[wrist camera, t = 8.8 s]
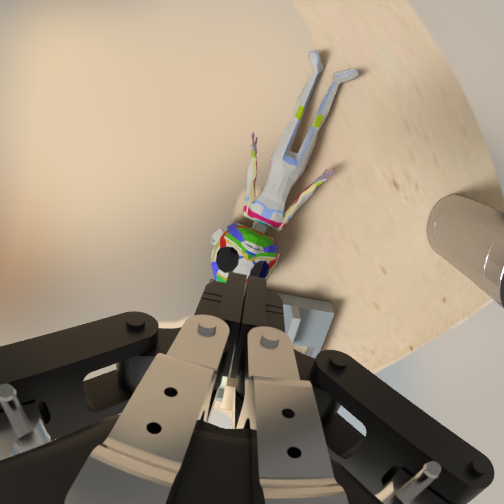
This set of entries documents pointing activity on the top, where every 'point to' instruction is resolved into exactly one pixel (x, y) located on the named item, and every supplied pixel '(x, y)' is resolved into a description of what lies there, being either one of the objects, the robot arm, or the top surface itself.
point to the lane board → (301, 325)
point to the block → (228, 392)
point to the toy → (274, 190)
